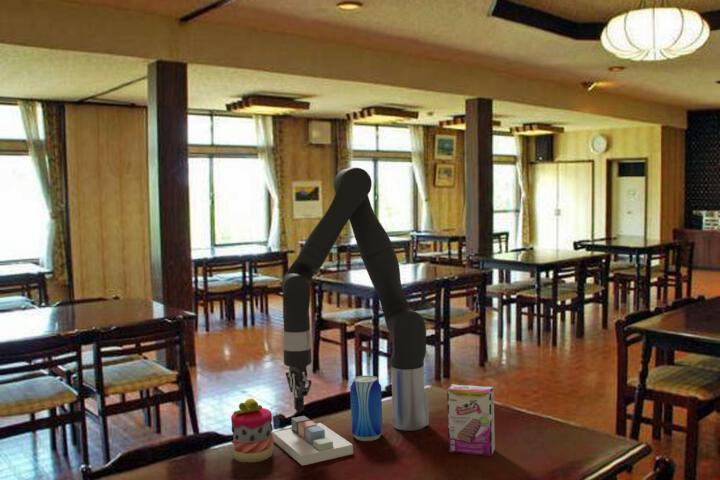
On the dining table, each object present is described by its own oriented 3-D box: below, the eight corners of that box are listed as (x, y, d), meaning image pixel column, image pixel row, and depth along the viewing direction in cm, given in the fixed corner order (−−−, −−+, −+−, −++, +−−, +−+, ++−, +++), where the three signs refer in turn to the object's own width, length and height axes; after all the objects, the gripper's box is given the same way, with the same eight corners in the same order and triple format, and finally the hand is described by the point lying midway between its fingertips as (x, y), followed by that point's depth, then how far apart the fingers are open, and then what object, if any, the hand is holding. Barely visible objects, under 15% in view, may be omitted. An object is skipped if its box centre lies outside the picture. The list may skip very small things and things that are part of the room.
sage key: (327, 452, 174) (326, 437, 174) (333, 457, 171) (332, 441, 171) (313, 455, 172) (312, 439, 172) (319, 460, 169) (318, 444, 169)
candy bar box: (447, 453, 170) (446, 389, 169) (451, 446, 175) (450, 383, 174) (492, 457, 167) (491, 391, 166) (495, 449, 172) (494, 386, 170)
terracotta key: (311, 435, 183) (311, 420, 182) (317, 439, 179) (317, 424, 179) (298, 437, 181) (298, 423, 181) (304, 442, 177) (303, 427, 177)
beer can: (380, 442, 180) (377, 383, 178) (349, 441, 181) (346, 382, 180) (385, 431, 188) (383, 374, 187) (355, 430, 189) (353, 374, 188)
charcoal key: (304, 429, 187) (304, 415, 187) (310, 433, 183) (309, 419, 183) (292, 432, 185) (291, 418, 185) (297, 436, 182) (296, 422, 181)
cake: (228, 452, 177) (225, 395, 176) (267, 444, 181) (265, 389, 180) (237, 466, 167) (234, 406, 166) (279, 458, 171) (276, 399, 170)
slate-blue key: (319, 440, 178) (318, 425, 178) (325, 444, 175) (324, 429, 175) (305, 443, 177) (305, 428, 176) (311, 447, 173) (311, 432, 173)
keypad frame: (320, 431, 190) (320, 422, 190) (353, 453, 172) (352, 444, 172) (273, 441, 184) (273, 432, 183) (302, 465, 166) (301, 456, 166)
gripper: (320, 349, 179) (321, 414, 180) (300, 340, 190) (302, 401, 191) (293, 353, 175) (295, 419, 176) (275, 344, 187) (277, 406, 188)
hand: (299, 409), depth 184 cm, fingers closed
